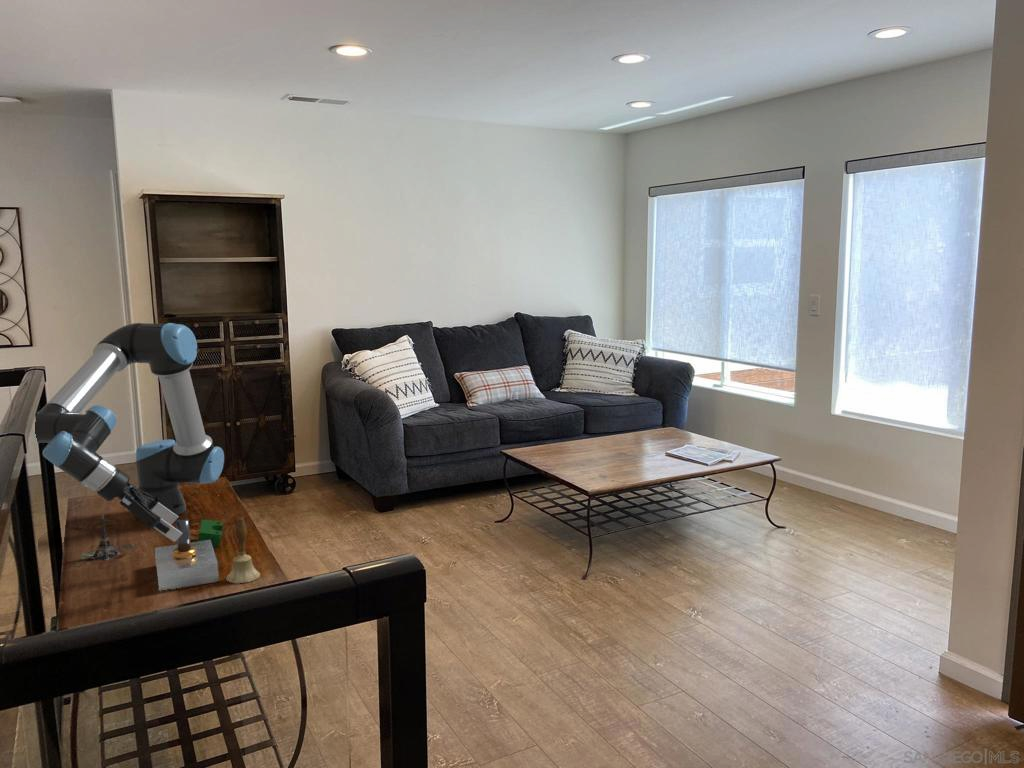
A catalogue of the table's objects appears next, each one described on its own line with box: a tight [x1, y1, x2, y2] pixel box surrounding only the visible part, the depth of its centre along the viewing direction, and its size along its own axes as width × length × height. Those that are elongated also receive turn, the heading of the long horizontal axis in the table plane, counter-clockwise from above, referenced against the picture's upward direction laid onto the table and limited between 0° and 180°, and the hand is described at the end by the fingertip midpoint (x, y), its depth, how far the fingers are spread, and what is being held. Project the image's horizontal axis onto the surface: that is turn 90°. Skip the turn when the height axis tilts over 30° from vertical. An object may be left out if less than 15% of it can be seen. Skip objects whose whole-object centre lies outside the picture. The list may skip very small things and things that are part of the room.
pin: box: [173, 518, 196, 560], centre depth 203 cm, size 6×6×14 cm
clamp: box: [197, 519, 224, 548], centre depth 224 cm, size 12×6×9 cm, turn 12°
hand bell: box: [226, 517, 261, 585], centre depth 201 cm, size 8×8×16 cm
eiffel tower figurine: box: [76, 514, 135, 567], centre depth 215 cm, size 15×10×13 cm
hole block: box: [154, 540, 220, 592], centre depth 204 cm, size 18×14×5 cm
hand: (176, 528), depth 201 cm, fingers open, 13 cm apart
